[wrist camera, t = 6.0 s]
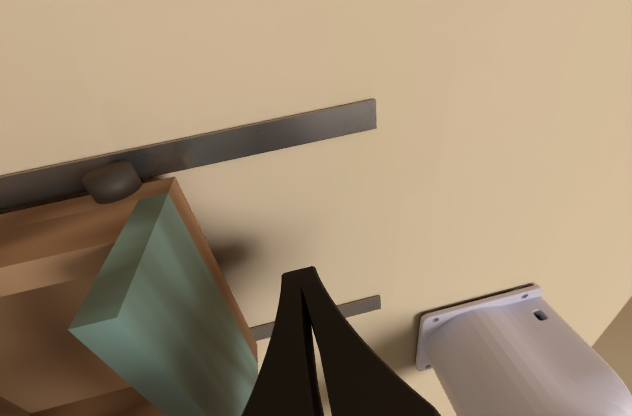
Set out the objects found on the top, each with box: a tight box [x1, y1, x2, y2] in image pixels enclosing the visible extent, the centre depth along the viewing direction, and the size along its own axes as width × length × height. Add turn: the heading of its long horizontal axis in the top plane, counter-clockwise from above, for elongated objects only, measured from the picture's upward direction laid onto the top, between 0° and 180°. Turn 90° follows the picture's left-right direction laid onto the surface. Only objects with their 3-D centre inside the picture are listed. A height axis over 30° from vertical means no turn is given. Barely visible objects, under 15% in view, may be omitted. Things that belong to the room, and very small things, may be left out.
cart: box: [0, 161, 258, 416], centre depth 12 cm, size 13×14×7 cm
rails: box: [0, 99, 381, 341], centre depth 15 cm, size 22×14×1 cm, turn 98°
